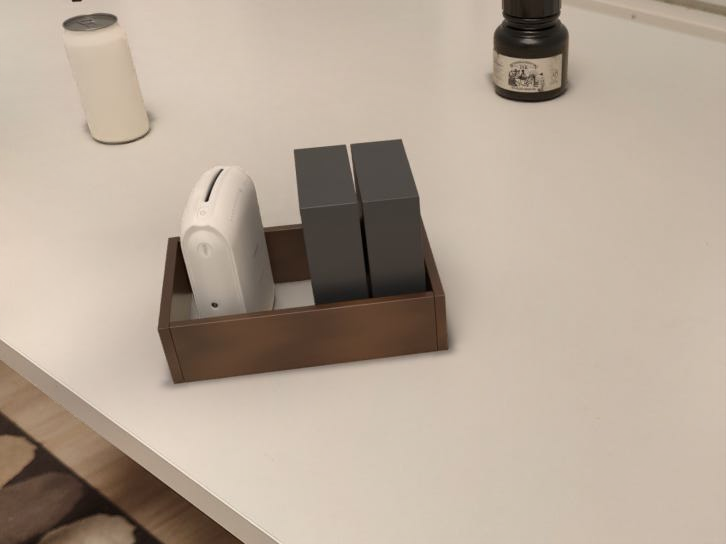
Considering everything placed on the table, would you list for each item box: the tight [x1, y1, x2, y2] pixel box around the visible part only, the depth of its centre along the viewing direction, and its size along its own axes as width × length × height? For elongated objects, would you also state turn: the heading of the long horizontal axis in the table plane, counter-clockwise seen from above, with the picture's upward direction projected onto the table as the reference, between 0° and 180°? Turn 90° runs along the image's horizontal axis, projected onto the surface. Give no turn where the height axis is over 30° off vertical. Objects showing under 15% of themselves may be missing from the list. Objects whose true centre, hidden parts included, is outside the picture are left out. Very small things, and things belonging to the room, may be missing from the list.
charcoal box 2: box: [349, 138, 426, 299], centre depth 73 cm, size 4×10×12 cm, turn 11°
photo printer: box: [179, 164, 276, 319], centre depth 71 cm, size 10×4×12 cm, turn 0°
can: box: [61, 12, 151, 145], centre depth 103 cm, size 6×6×12 cm
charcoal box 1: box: [293, 144, 370, 305], centre depth 72 cm, size 4×10×12 cm, turn 11°
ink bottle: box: [492, 0, 570, 101], centre depth 110 cm, size 10×9×12 cm
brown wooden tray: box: [156, 216, 449, 385], centre depth 75 cm, size 21×14×6 cm, turn 101°
